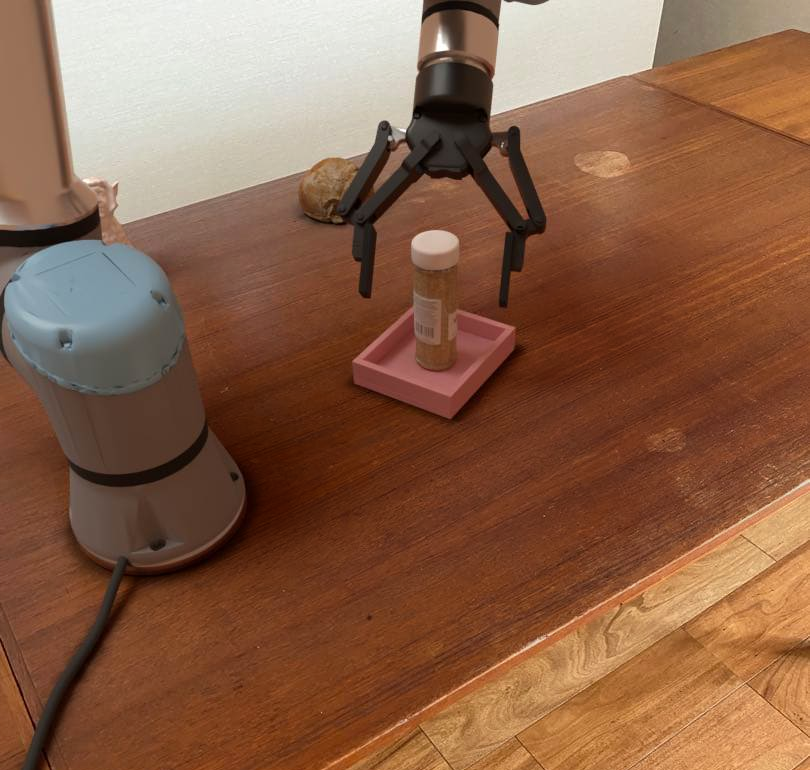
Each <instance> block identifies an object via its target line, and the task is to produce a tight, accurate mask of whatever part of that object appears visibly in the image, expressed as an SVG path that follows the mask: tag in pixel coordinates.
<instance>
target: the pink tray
mask: <svg viewBox="0 0 810 770" xmlns="http://www.w3.org/2000/svg"><path fill="white" fill-rule="evenodd" d="M516 329H517V327H515V326H513V325H509V324H506V323H503V322H500V321H497V320H493V319H491V318H488V317H484V316H481V315H478V314H474V313H472V312H468V311H466V310H462V309H459V308H457V337H456V345H457V346H456V351H457V360H456V362H455V363H454V364H453V365H452V366H451V367H449V368H446V369H443V370H429V369H426V368H423V367H421V366H420V365H418V364H417V362H416V360H415V353H416V336H415V329H414V305H412V306H411V307H410V308H409V309H408V310H406V312H405V313H404V314H402V315H401V316H400V317H399V318H398V319H397V320H395V322H394V323H393V324H391V325H390V326H389V327H388V328H387V329H386V330H384V331H383V332H382V333H381V334H380V335H379V336H378V337H377V338H376V339H374V340H373V342H372V343H371V344H369V345H368V346H367V347H366V348H365V349H364V350H363V351H361V353H359V354H358V355H357V356H356V357H355V358H354V359H353V360H352V361H351V363H352V374H353V375H352V376H353V384H354V385H356V386H357V385H358V386H359V387H363V388H365V389H368V390H370V391H373V392H375V393H376V392H377V393H379V394H382V395H384V396H387V397H389V398H392V399H395V400H397V401H400V402H403V403H405V404H408V405H410V406H413V407H416V408H418V409H422V410H424V411H427V412H430V413H432V414H435V415H437V416H440V417H443V418H446V419H448V420H452V418H453V417H454V416H455V415H457V413H458V412H459V411H460V410H461V409H462V408H463V406H464V405H466V403H467V402H468V401H469V400H470V399H471V397H472V396H474V394H475V393H476V392H477V391H478V390H479V389H480V388H481V387H482V386H483V385H484V383H485V382H486V381H488V379H489V378H490V377H491V376H492V375H493V373H494V372H496V370H497V369H498V368H499V367H500V366H501V365H502V364H503V363H504V361H506V359H507V358H509V356H510V354H511V353H512V352H513V351H514V350H515V346H516V345H515V342H516Z"/></svg>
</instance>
